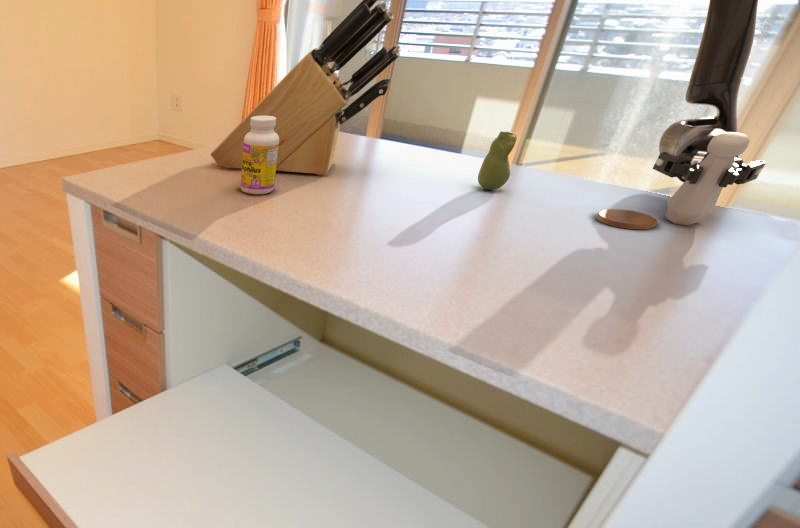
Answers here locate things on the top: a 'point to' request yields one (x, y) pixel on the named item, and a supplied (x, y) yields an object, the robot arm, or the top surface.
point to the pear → (497, 162)
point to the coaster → (626, 219)
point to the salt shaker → (706, 180)
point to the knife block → (318, 96)
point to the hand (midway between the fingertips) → (711, 178)
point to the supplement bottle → (260, 156)
